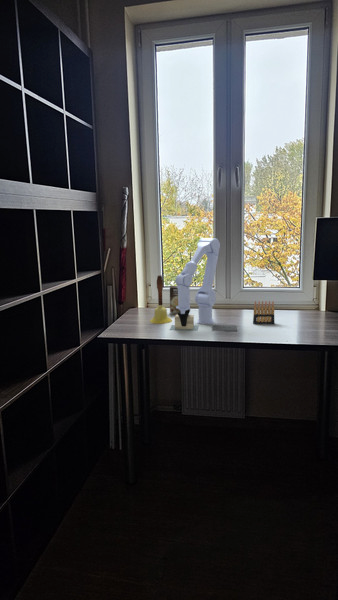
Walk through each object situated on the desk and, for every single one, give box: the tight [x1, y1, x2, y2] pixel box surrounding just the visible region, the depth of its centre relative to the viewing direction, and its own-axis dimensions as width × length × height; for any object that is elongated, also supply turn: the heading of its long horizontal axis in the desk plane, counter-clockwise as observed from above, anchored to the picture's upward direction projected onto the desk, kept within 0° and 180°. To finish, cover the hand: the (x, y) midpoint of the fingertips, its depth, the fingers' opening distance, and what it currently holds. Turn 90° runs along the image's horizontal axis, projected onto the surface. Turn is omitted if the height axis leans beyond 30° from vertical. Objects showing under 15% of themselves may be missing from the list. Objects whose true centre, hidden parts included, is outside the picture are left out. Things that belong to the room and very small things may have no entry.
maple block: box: [174, 314, 195, 329], centre depth 207 cm, size 5×9×6 cm, turn 82°
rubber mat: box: [211, 324, 238, 332], centre depth 205 cm, size 10×12×1 cm
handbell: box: [149, 274, 173, 325], centre depth 221 cm, size 12×12×25 cm
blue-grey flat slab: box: [169, 324, 200, 331], centre depth 208 cm, size 10×14×1 cm
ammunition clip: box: [252, 300, 276, 325], centre depth 212 cm, size 11×2×12 cm, turn 86°
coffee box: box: [169, 285, 180, 316], centre depth 239 cm, size 9×6×16 cm
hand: (184, 324), depth 208 cm, fingers closed on maple block, 5 cm apart
